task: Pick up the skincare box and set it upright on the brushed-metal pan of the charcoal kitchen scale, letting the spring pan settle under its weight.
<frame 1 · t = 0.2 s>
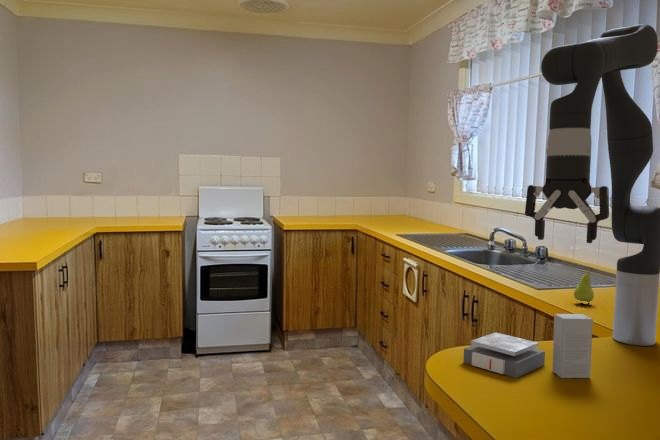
hand: (564, 241, 102), 27 cm above the worktop, fingers open, 8 cm apart
fruit: (583, 305, 174), on the worktop
scale base: (503, 363, 114), on the worktop
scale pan: (504, 344, 114), point 4 cm above the worktop, slide at -0.2 cm
skincare box: (570, 375, 109), on the worktop
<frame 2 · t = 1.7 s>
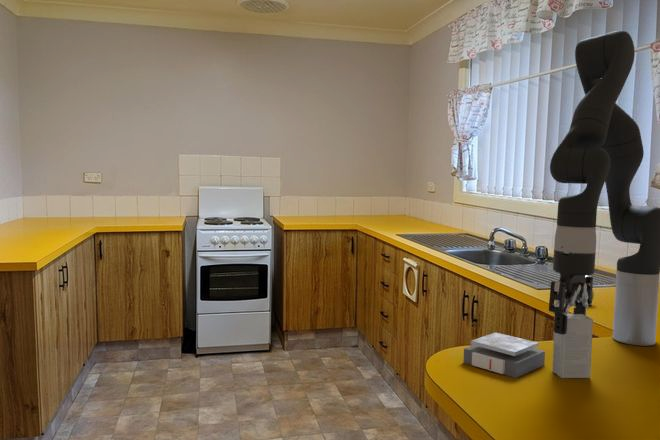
hand: (569, 329, 108), 9 cm above the worktop, fingers open, 8 cm apart
nothing on the worktop moved.
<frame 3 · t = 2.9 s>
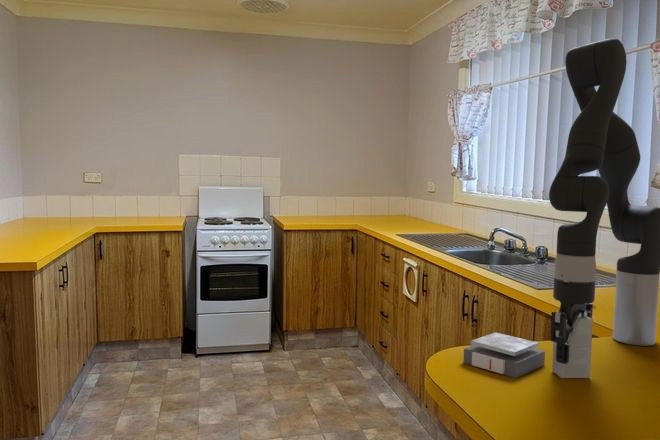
hand: (570, 358, 108), 3 cm above the worktop, fingers closed on skincare box, 7 cm apart
skincare box: (570, 375, 109), on the worktop, touching gripper
everything else where it was.
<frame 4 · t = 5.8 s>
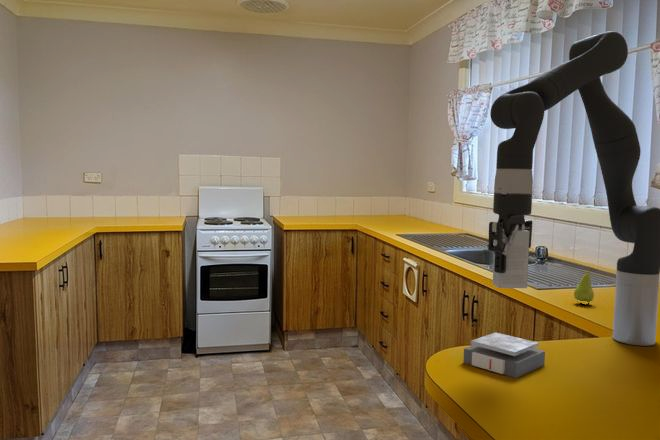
hand: (509, 270, 113), 20 cm above the worktop, fingers closed on skincare box, 7 cm apart
skincare box: (509, 287, 113), point 16 cm above the worktop, touching gripper
everything else where it was.
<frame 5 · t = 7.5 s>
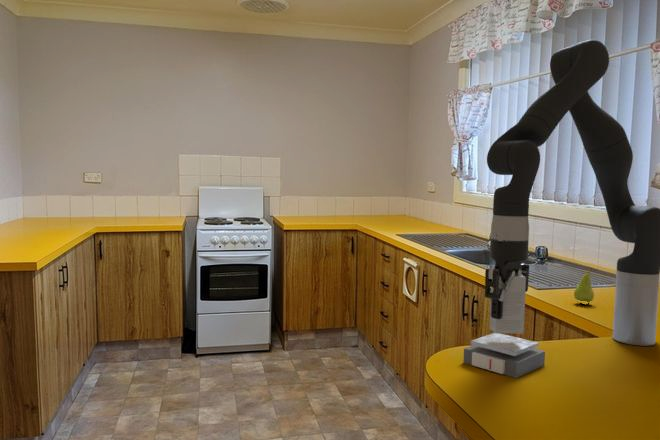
hand: (506, 315, 114), 10 cm above the worktop, fingers closed on skincare box, 7 cm apart
skincare box: (505, 332, 114), point 7 cm above the worktop, touching gripper
everything else where it was.
when the fingers open (10 cm above the worktop, at t = 8.7 s): skincare box drops 2 cm, resting on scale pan.
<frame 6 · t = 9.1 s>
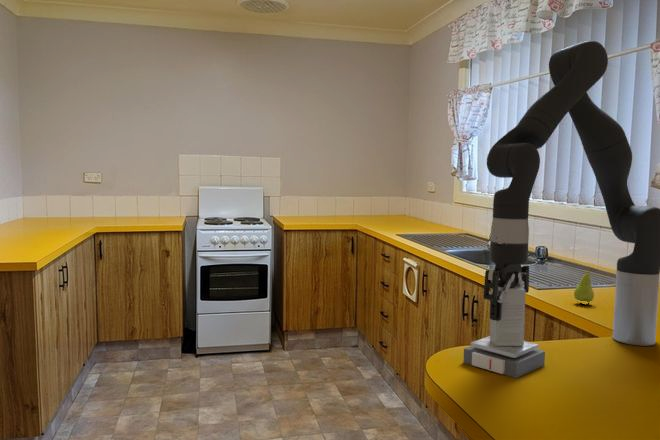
hand: (505, 316, 114), 10 cm above the worktop, fingers open, 8 cm apart
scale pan: (504, 346, 114), point 4 cm above the worktop, slide at -0.6 cm, touching skincare box
skincare box: (505, 344, 114), point 4 cm above the worktop, touching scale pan
everything else where it was.
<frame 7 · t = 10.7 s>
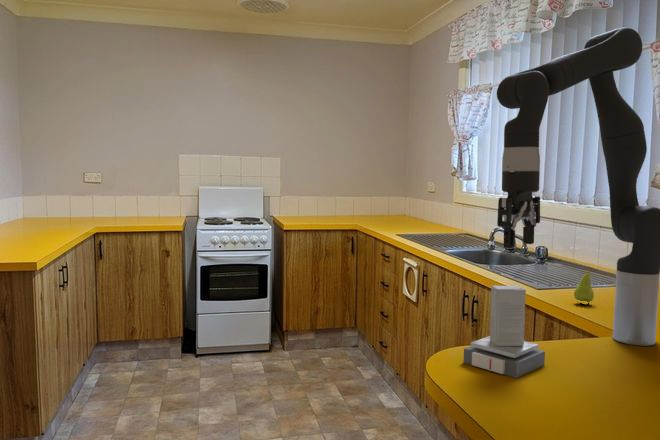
hand: (518, 245, 116), 25 cm above the worktop, fingers open, 8 cm apart
nothing on the worktop moved.
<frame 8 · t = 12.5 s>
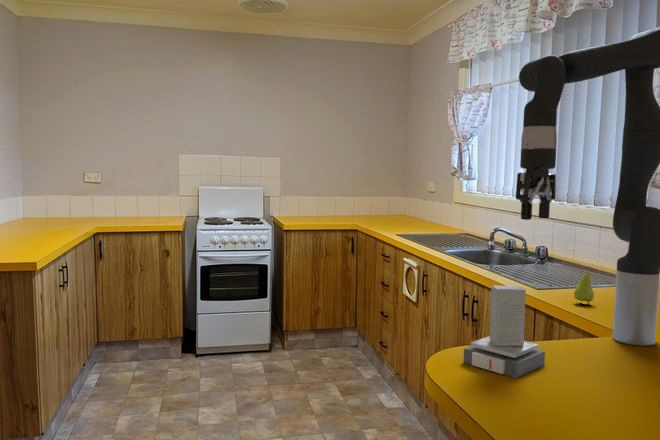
hand: (535, 218, 124), 30 cm above the worktop, fingers open, 8 cm apart
nothing on the worktop moved.
at the end: skincare box 0.3 cm from the scale base (horizontally); skincare box tilted 0°; the gripper is holding nothing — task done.
